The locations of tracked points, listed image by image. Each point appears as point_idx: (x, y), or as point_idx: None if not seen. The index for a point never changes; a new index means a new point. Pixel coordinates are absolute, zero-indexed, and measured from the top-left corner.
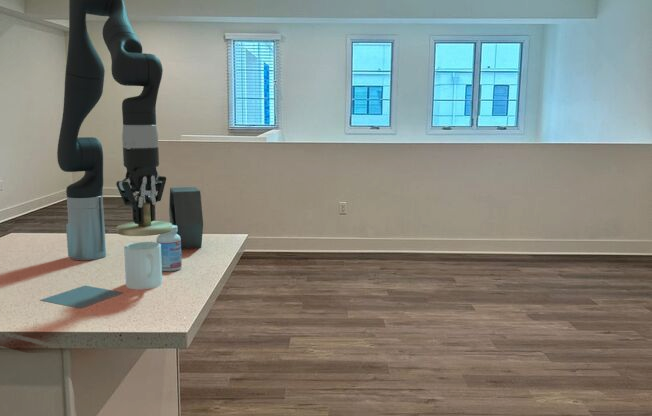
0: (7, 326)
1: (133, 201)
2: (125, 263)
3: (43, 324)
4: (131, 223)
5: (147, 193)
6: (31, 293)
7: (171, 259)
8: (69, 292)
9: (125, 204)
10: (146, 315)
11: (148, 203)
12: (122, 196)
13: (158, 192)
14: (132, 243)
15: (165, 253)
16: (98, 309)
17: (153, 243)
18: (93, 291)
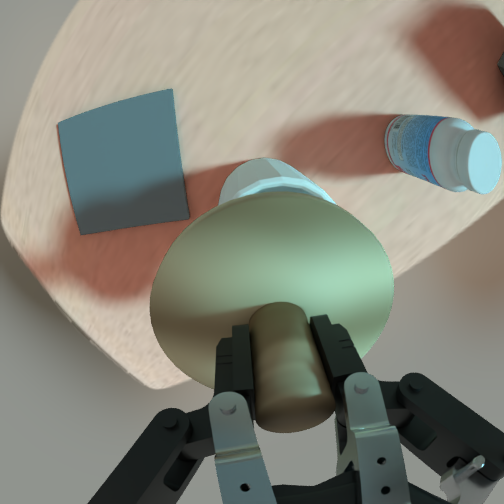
0: (3, 206)
1: (181, 460)
2: (221, 199)
3: (31, 240)
4: (290, 232)
5: (343, 462)
6: (87, 44)
7: (408, 171)
8: (115, 115)
9: (160, 416)
10: (149, 332)
11: (316, 421)
12: (127, 462)
13: (409, 446)
14: (288, 183)
15: (411, 161)
16: (108, 250)
17: None
18: (150, 152)
